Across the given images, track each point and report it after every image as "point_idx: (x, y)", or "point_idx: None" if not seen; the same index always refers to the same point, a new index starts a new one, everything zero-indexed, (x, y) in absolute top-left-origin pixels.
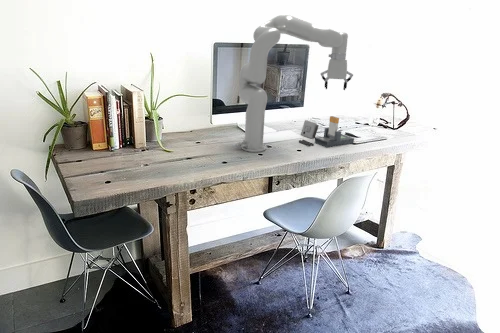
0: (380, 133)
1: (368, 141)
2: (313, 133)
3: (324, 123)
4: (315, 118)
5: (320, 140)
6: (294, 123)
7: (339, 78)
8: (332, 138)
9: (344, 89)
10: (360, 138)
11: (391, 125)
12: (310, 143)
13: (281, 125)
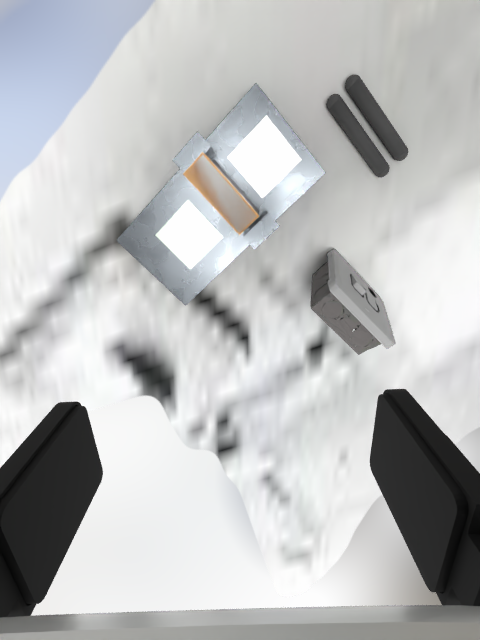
0: None
1: (63, 300)
2: (329, 260)
3: (263, 506)
4: (298, 558)
5: (294, 133)
6: None
7: (69, 636)
8: None
9: (66, 403)
10: (103, 337)
11: None
12: (347, 108)
13: (455, 429)
